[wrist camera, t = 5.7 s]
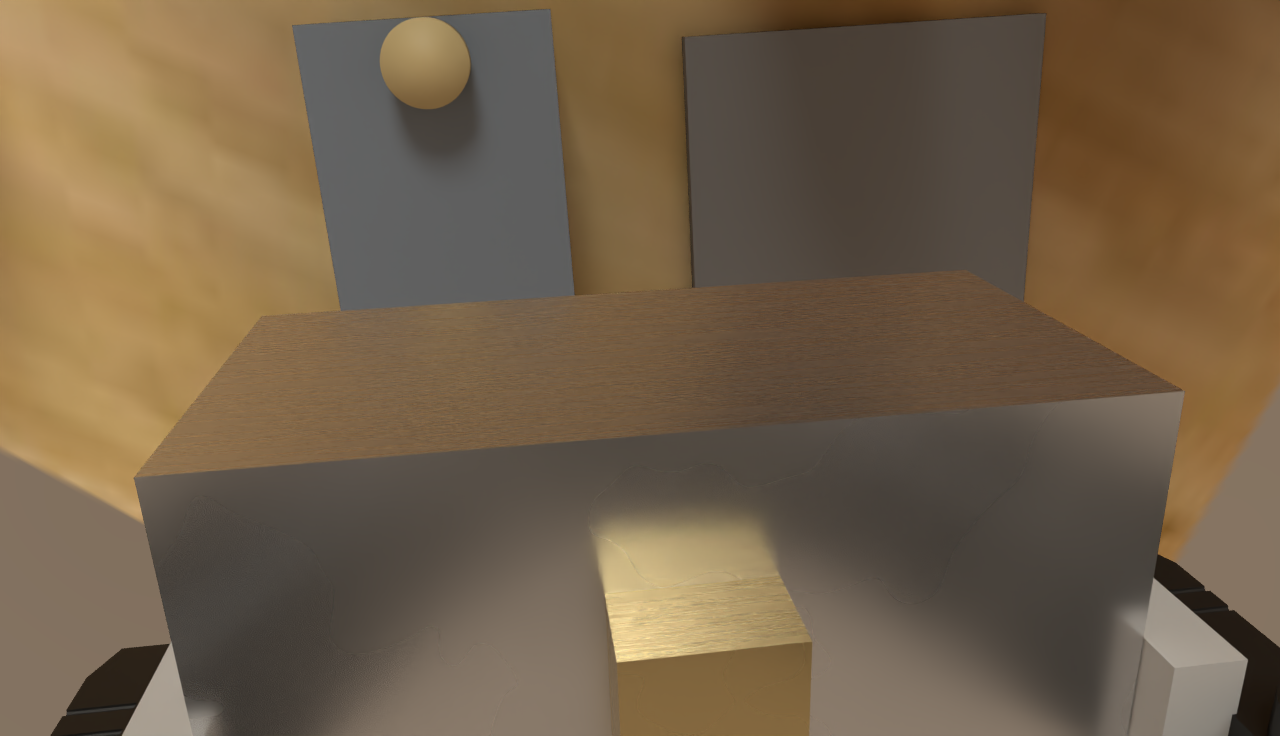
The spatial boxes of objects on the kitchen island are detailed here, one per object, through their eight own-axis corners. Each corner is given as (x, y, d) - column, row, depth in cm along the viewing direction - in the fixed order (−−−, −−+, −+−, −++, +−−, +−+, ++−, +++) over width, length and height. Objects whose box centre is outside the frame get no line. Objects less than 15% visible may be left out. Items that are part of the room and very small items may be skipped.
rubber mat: (681, 37, 29) (684, 37, 29) (1038, 13, 30) (1046, 13, 30) (699, 467, 34) (702, 474, 33) (1006, 433, 35) (1013, 439, 35)
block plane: (327, 23, 28) (281, 26, 22) (542, 9, 28) (552, 9, 22) (407, 527, 33) (387, 636, 27) (585, 506, 34) (603, 609, 28)
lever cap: (262, 316, 12) (84, 540, 7) (966, 269, 13) (1264, 435, 8) (348, 827, 15) (267, 1260, 10) (924, 757, 16) (1128, 1114, 11)
